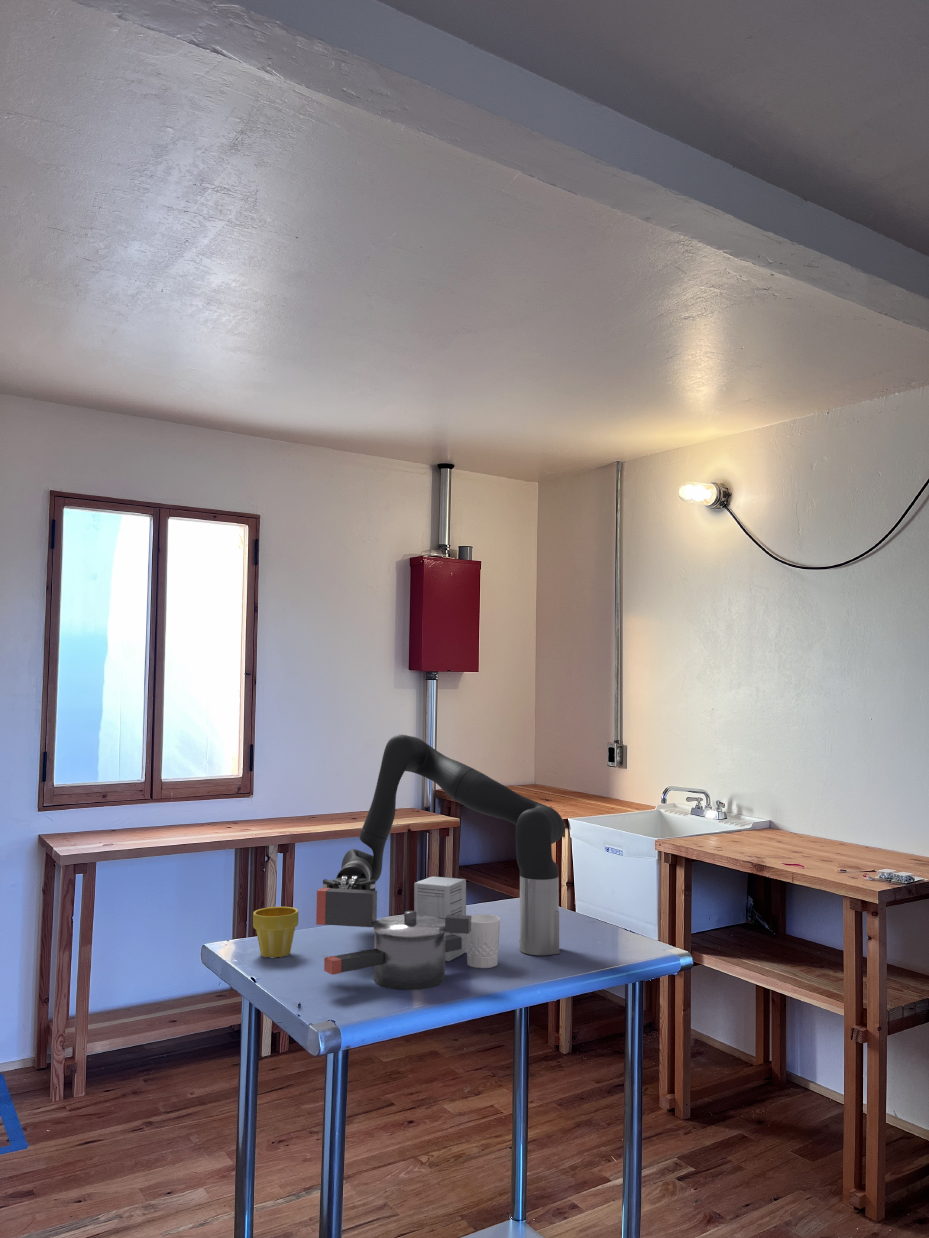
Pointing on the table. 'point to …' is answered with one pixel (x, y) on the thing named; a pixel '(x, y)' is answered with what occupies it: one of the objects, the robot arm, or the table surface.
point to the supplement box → (442, 903)
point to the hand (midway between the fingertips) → (343, 893)
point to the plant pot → (275, 930)
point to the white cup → (483, 941)
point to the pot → (400, 961)
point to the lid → (362, 912)
